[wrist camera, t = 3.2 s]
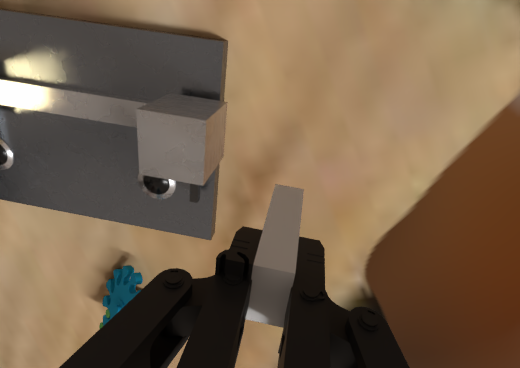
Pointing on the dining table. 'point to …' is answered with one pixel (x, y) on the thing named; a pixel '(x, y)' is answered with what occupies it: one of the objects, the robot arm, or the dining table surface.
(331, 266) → the dining table surface
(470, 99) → the dining table surface
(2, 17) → the plate
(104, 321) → the gear
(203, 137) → the block
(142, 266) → the dining table surface
